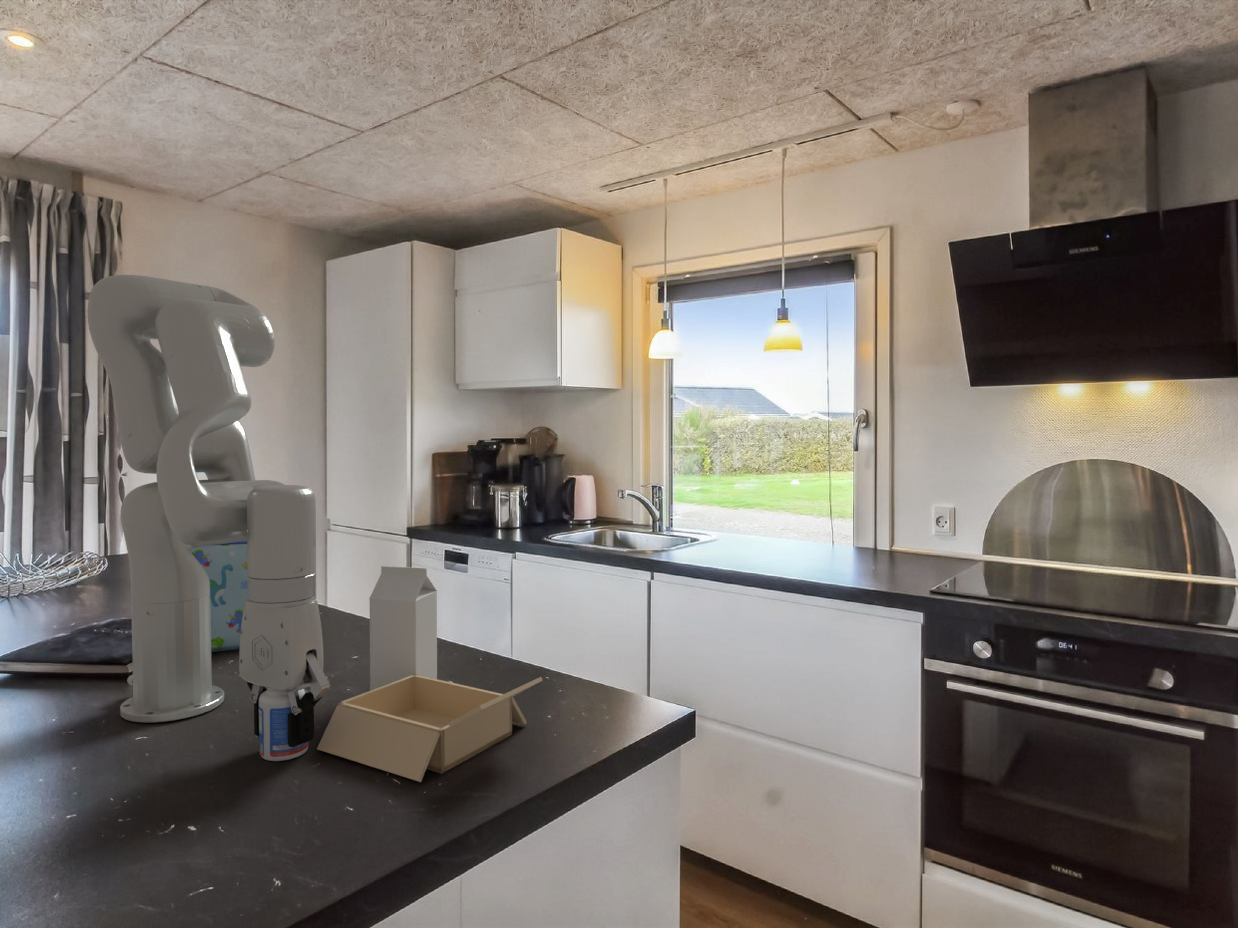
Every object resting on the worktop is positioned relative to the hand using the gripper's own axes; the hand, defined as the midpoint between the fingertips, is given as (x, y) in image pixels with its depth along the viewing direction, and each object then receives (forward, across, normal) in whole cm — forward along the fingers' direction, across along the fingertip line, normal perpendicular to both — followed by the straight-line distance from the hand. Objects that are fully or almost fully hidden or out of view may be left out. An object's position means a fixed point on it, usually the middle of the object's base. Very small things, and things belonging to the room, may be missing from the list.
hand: (284, 736), depth 93 cm
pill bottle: (+2, 0, 0) cm, 2 cm away
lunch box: (+3, -47, +25) cm, 54 cm away
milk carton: (+2, -2, +22) cm, 22 cm away
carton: (+2, +10, +12) cm, 16 cm away
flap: (-3, +20, +12) cm, 24 cm away
